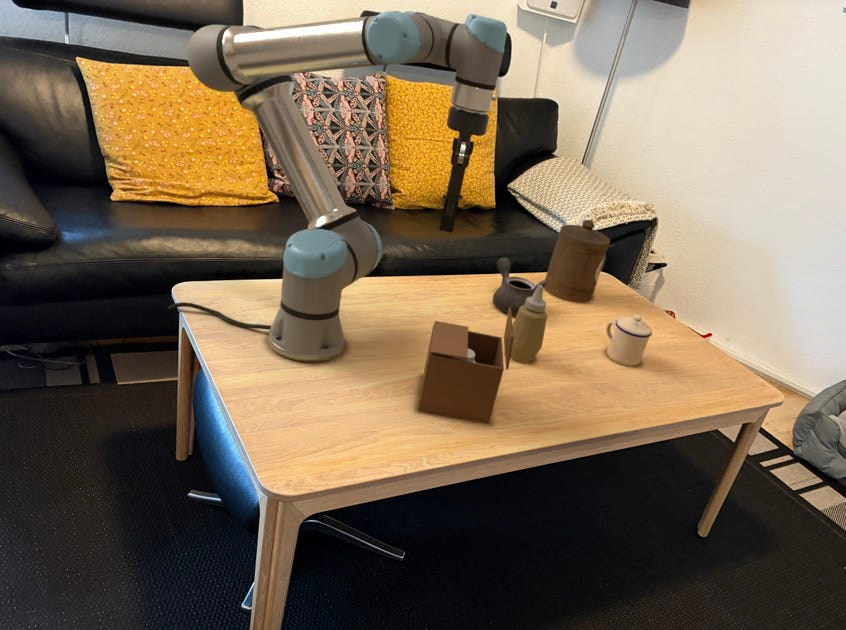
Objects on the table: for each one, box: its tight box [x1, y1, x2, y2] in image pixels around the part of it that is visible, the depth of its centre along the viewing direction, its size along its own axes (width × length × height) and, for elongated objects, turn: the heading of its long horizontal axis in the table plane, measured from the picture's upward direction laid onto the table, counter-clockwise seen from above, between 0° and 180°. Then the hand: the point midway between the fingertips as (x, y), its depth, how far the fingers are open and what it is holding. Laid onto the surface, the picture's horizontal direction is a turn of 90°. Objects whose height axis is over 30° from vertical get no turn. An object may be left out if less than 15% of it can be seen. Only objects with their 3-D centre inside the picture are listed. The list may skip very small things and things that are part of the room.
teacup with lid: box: [605, 314, 653, 367], centre depth 167 cm, size 12×9×12 cm
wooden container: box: [544, 219, 611, 303], centre depth 195 cm, size 15×15×22 cm
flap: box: [430, 320, 469, 359], centre depth 128 cm, size 7×13×1 cm, turn 0°
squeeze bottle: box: [510, 285, 548, 363], centre depth 153 cm, size 8×8×18 cm
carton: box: [417, 307, 514, 425], centre depth 130 cm, size 15×13×19 cm
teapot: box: [492, 257, 547, 316], centre depth 181 cm, size 19×15×10 cm
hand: (445, 230), depth 135 cm, fingers closed
